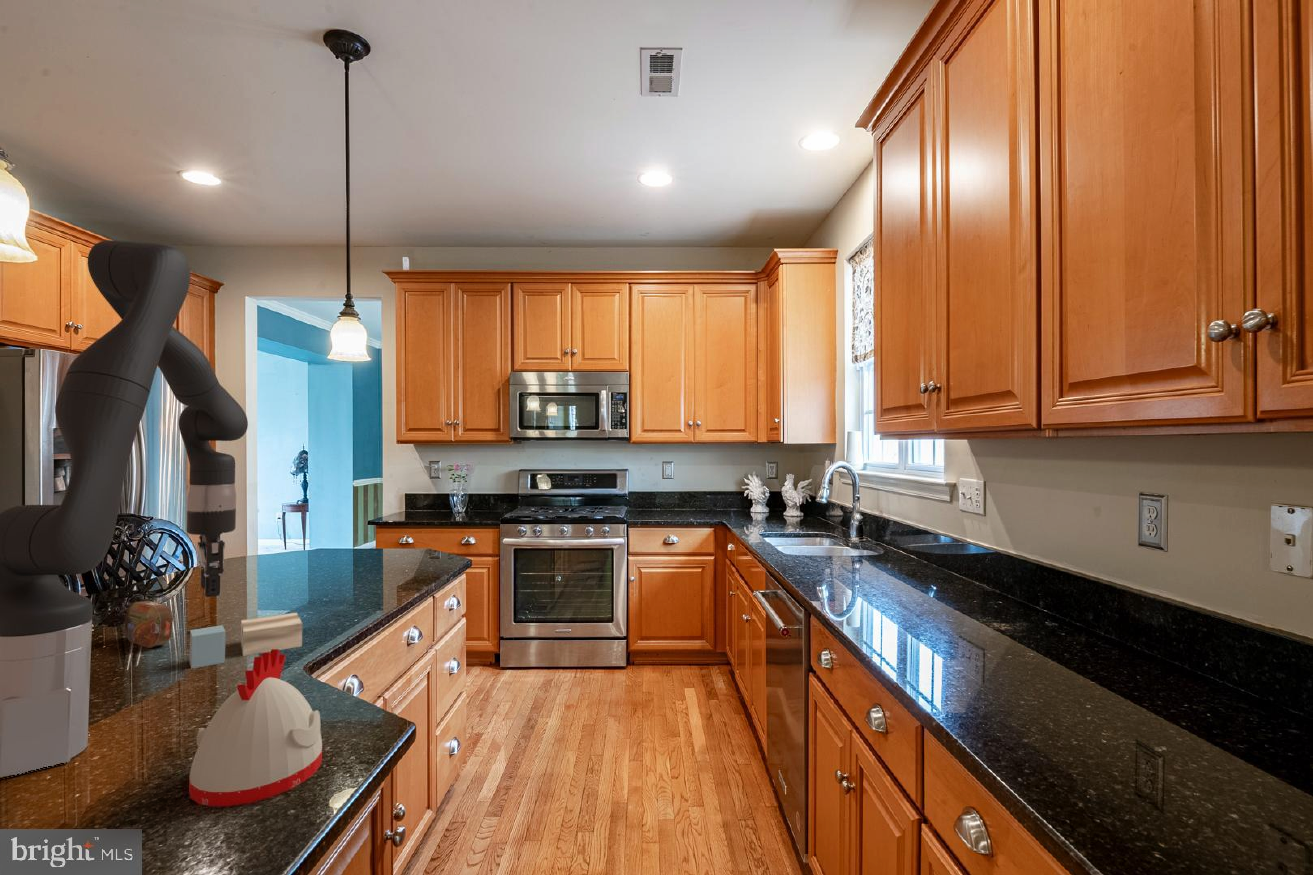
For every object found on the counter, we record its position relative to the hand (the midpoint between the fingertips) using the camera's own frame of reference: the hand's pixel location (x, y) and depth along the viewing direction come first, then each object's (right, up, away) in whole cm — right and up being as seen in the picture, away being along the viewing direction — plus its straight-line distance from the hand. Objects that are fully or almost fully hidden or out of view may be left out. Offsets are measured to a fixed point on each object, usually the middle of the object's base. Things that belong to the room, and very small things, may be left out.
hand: (210, 591), depth 112 cm
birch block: (+5, -14, +10) cm, 18 cm away
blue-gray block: (0, -13, 0) cm, 13 cm away
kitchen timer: (+36, -13, -38) cm, 54 cm away
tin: (-20, -14, +10) cm, 26 cm away
